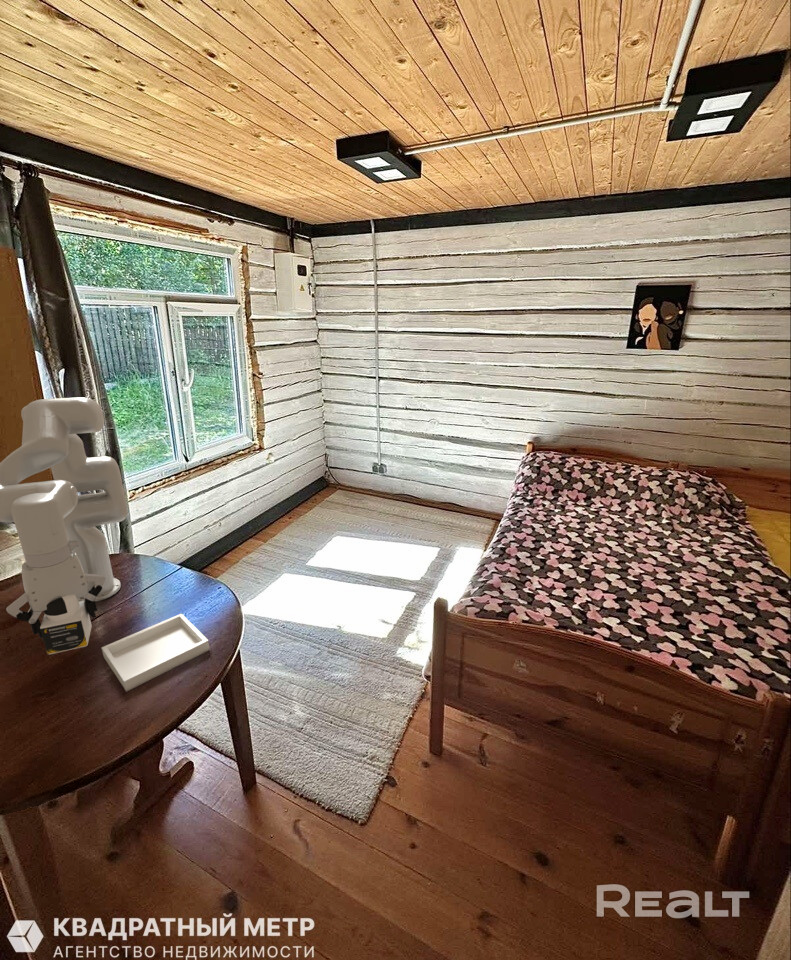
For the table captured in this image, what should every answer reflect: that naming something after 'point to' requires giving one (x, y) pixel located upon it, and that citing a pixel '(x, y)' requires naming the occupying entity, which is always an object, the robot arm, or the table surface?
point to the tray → (154, 651)
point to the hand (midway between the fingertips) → (67, 624)
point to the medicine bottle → (65, 625)
